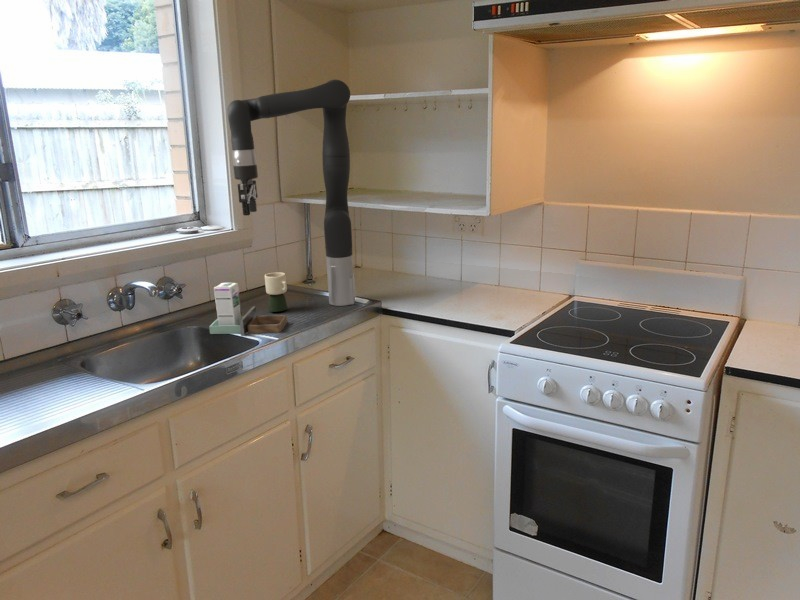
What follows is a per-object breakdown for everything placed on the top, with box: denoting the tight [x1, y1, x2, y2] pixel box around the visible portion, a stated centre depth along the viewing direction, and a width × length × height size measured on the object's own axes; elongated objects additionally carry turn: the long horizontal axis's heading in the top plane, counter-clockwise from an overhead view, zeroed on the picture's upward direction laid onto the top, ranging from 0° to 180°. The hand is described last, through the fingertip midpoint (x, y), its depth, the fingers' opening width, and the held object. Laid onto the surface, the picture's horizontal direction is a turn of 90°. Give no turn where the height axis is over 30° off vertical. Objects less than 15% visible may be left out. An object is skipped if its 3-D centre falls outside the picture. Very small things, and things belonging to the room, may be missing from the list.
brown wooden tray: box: [247, 315, 288, 334], centre depth 198 cm, size 10×10×2 cm
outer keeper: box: [208, 315, 244, 335], centre depth 198 cm, size 10×10×2 cm
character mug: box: [264, 271, 288, 313], centre depth 214 cm, size 11×7×13 cm, turn 50°
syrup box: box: [213, 281, 243, 326], centre depth 197 cm, size 6×6×14 cm
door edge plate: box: [239, 305, 258, 337], centre depth 198 cm, size 1×15×5 cm, turn 177°
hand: (250, 213), depth 209 cm, fingers open, 8 cm apart
